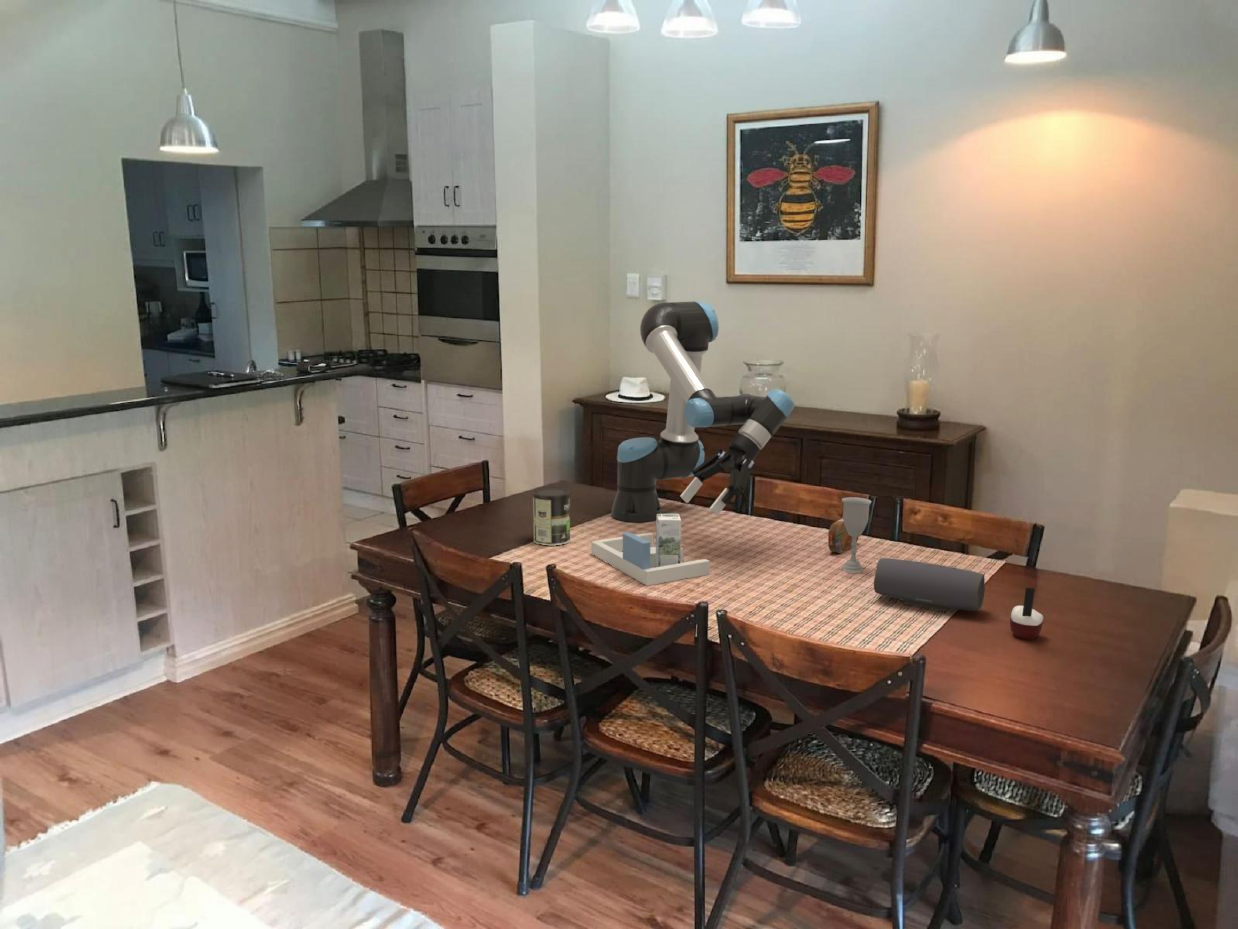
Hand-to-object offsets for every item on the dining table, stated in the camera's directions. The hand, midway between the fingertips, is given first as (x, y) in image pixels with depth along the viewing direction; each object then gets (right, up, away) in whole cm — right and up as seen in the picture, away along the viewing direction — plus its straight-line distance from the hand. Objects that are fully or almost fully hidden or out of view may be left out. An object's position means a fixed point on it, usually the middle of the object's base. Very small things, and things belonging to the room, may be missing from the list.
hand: (698, 505), depth 248 cm
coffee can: (-38, -11, +25) cm, 47 cm away
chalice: (+39, -16, +1) cm, 42 cm away
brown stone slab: (+41, -13, +19) cm, 47 cm away
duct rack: (-12, -15, +5) cm, 20 cm away
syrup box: (-8, -17, -1) cm, 18 cm away
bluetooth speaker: (+50, -22, -24) cm, 60 cm away
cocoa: (+65, -26, -42) cm, 81 cm away
